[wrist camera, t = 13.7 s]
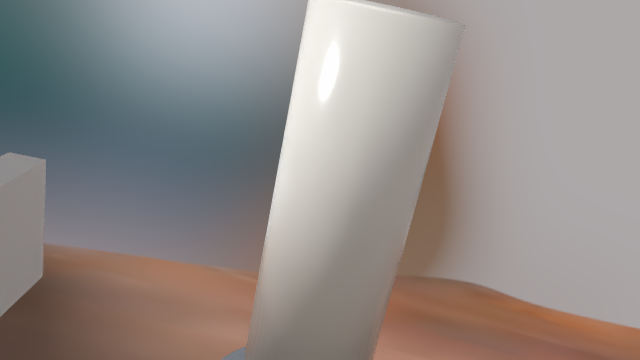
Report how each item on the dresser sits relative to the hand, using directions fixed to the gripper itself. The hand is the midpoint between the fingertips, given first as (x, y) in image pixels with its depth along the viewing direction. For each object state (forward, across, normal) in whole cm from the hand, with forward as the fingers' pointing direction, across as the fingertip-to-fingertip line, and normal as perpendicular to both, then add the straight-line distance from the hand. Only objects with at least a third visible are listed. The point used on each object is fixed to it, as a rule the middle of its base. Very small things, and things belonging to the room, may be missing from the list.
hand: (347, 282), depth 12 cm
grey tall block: (+8, 0, -11) cm, 14 cm away
